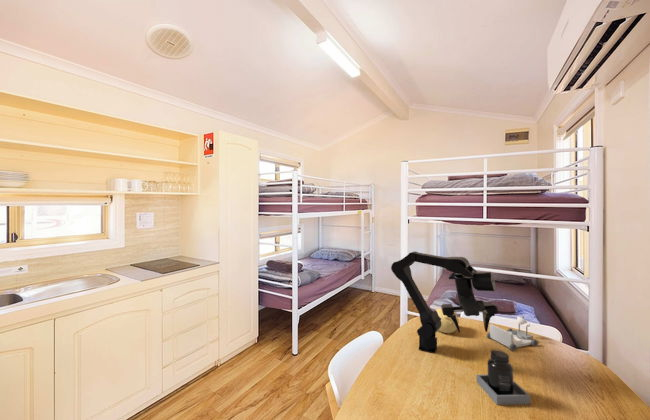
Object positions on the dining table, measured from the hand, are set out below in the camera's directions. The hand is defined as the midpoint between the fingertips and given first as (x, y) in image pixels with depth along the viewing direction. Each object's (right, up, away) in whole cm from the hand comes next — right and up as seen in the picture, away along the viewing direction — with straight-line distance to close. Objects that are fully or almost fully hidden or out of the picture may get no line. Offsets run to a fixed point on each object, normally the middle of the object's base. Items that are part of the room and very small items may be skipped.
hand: (472, 331), depth 98 cm
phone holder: (+28, -13, +16) cm, 35 cm away
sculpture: (+2, -12, +27) cm, 30 cm away
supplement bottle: (0, -12, -15) cm, 20 cm away
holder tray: (+1, -12, -15) cm, 20 cm away
